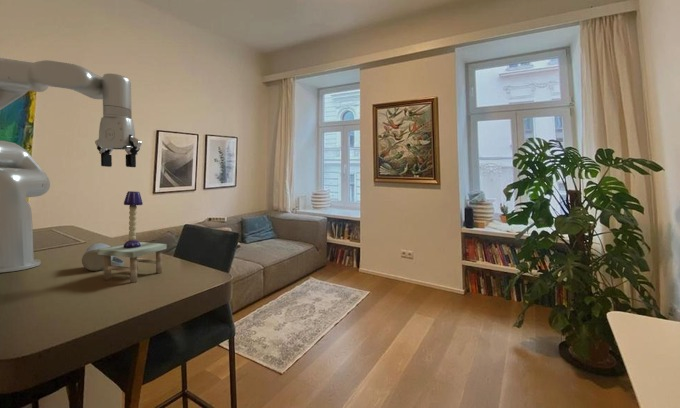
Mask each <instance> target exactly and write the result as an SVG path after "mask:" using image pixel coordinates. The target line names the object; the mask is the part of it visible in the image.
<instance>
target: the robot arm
mask: <svg viewBox="0 0 680 408" xmlns="http://www.w3.org/2000/svg"><path fill="white" fill-rule="evenodd" d="M49 87H52V88H60V89H67V90H73V91H74V92H77V93H80V94H81V95H83V96H86V97H88V98H90V99H93V100H102V117H101V119H100V122H99V126H98V127H99V129H98V139H97V140H94V143H95V145H96V149H97V151H98V153H99V155H100V166H101V167H108V168H112V165H113V161H112V160H113V159H112V151H113V150H124V151H125V152H126V153H125V167H127V168H136V167H137V161H136V158H137V156H138V152H139V151H140V150H141V149H140V148H141V146H142V144H143V142H142V141H141V140H140V139H139V138H136V132H135V131H136V130H135V125H134V122H133V118H132V116H133V115H132V82H131V80H130V79H129V78H128V77H127V76H123V75H121V74H118V73H104V74H103V75H102V76H100V75H98V74H95V73H94V72H92V71H91V70H89V69H87V68H85V67H83V66H81V65H78V64H74V63H70V62H64V61H63V62H62V61H55V60H47V59H46V60H45V59H44V60H37V61H35V62H32V61H25V60H18V59H11V58H10V59H9V58H4V57H0V111H1V110H3V109H4V108H6V107H7V106H9V105H11V104H12V103H13V102H15V101H17V100H19V99H20V98H21V97H23V96H25V94H27V93H28V92H29V91H31V92H38V93H43V92H44V91H47V90H48V89H49ZM50 187H51V182H50V178H49V177H48V175H47V174H46V172H45V171H44V170H43V168H42V167H41V166H40V165H39V164H38V163H37V162H36V160H35V159H34V158H33V156H32V154H31V155H30V153H29V152H28V151H27V149H25V148H24V147H22V146H21V145H19V144H17V143H14V142H11V141H7V140H0V273H9V272H10V273H11V272H18V271H23V270H27V269H28V270H29V269H31V268H32V269H33V268H35V267H38V266H40V265H41V264H42V263H41V260H40V259H35V258H34V235H33V234H34V232H33V213H32V207H31V206H30V205H31V204H30V203H29V201H28V200H27V199H28V198H36V197H41V196H44V195H45V194H46V193H48V192H49V189H50Z"/></svg>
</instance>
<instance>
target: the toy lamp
mask: <svg viewBox="0 0 680 408" xmlns="http://www.w3.org/2000/svg"><path fill="white" fill-rule="evenodd" d="M123 205H124V206H129V208H128V209H129V213H128V214H129V217H128V219H129V222H128V225H129V226H128V235H129V236H128V241H125V243H123V244H124V246H123V247H124V248H134V247H140V246H141V245H140V243H139V242H140V241H139V240H137V237H136V235H137V232H136V230H137V226H136V225H137V212H138V211H137V206H143V200H142V196H141V192H140V191H135V190H134V191H128V190H127V192H126V196H125V198H124V200H123Z"/></svg>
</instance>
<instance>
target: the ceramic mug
mask: <svg viewBox="0 0 680 408" xmlns="http://www.w3.org/2000/svg"><path fill="white" fill-rule="evenodd" d="M107 247H111V245H109V244H106V243H101V242H97V243H93V244H91V245H90V246H89V247H87V248H86V250H85V252H84V253H83V255H82V257H81V263H82V266H83V268H85V269H87V270H88V271H95V272H98V271H101V270H104V255H98V249H102V248H107ZM124 264H125V261H124V259H122V258H121V257H119V256H111V265H113V266H123V267H124Z"/></svg>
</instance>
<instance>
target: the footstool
mask: <svg viewBox="0 0 680 408" xmlns="http://www.w3.org/2000/svg"><path fill="white" fill-rule="evenodd" d="M138 242H139V243H140V245H141V246H140V247H134V248H124V247H123V246H124V244H125V243H123V244H117V245H116V244H115V245H113V246H111V245H110V247H107V248H102V249H98V255H104V269H103V270H104V271H103V273H104V275H103V278H104V280H105V281H108V280H109V281H110V280H112V271H118V272H127V273H128V272H129V274H130V275H129V279H130V283H131V284H134V283H135V284H136V283H137V282H138V271H139V263H146V264H153V265H155V273H156V274H162V273H163V252H162V251H164V250H167V249H168V245H167V243H157V242H156V243H155V242H146V241H145V242H143V241H138ZM153 253H155V259H152V258H142V257H141V256H144V255H148V254H153ZM111 256H114V257H118V258H129V266H124V265H123V266H113V265H111Z"/></svg>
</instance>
